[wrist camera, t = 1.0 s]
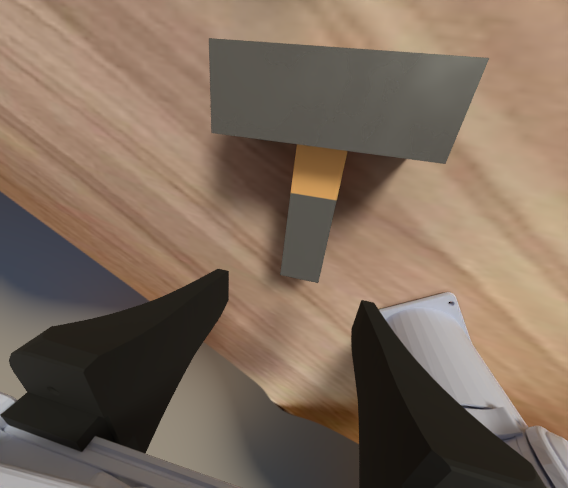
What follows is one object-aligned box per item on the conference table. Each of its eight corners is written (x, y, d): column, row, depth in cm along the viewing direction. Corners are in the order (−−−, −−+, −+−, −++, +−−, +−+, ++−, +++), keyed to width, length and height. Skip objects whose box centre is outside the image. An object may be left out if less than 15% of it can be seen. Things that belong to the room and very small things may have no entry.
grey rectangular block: (409, 155, 16) (445, 163, 11) (248, 134, 17) (211, 132, 12) (432, 88, 14) (489, 57, 9) (250, 71, 16) (208, 38, 10)
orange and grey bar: (321, 258, 21) (318, 283, 17) (289, 252, 21) (280, 274, 17) (357, 90, 15) (364, 75, 11) (312, 86, 15) (306, 70, 12)
